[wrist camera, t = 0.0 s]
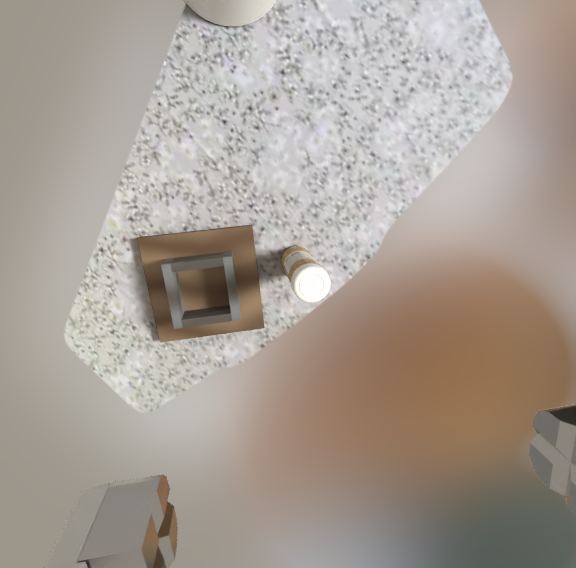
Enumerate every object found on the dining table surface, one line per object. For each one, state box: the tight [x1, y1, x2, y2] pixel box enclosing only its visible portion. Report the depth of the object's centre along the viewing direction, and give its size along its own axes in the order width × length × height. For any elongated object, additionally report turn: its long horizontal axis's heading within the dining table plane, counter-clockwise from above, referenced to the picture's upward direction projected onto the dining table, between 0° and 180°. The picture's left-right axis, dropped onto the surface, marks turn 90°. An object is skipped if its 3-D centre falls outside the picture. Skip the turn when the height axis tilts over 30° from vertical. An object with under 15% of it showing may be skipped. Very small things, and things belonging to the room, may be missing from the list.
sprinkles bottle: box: [281, 246, 330, 303], centre depth 50 cm, size 5×5×14 cm
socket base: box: [138, 225, 264, 342], centre depth 53 cm, size 16×16×5 cm
